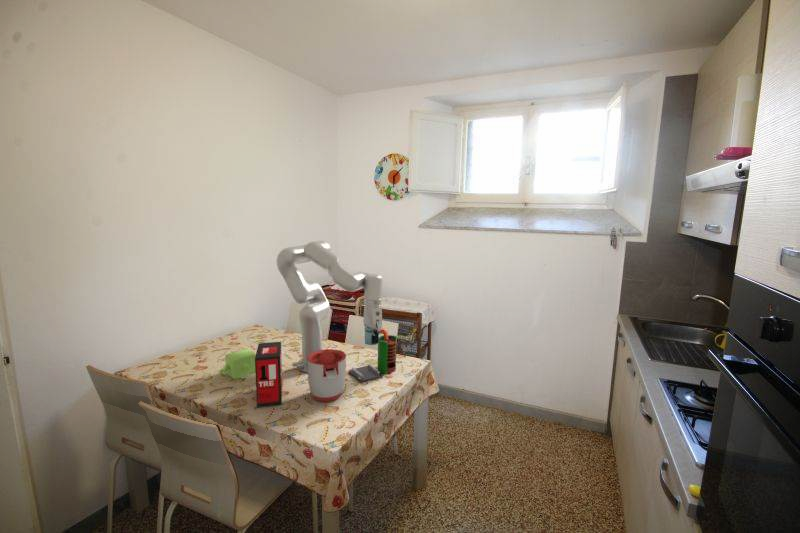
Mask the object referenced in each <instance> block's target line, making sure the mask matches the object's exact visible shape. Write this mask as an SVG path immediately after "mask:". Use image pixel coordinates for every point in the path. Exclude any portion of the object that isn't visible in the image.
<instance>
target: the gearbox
mask: <svg viewBox="0 0 800 533" xmlns="http://www.w3.org/2000/svg"><path fill="white" fill-rule="evenodd" d="M255 356H256V353H255V352H253V351H252V350H251V349H249V348H245V349H242V350H241V349H240V350H237V351H233V352H231V353H227V354H225V355H224V357H225V359H224V360H225V366H224V367H222V368H221V369H220V370H219V372H220V374H223V375H224V374H225V373H226V374H227V375H228V376H229V377H231V378H232V379H233V380H236V379H239V378H241V377H245V376H248V375H251V374H255V373H256V372H255Z"/></svg>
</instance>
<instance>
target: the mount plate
mask: <svg viewBox="0 0 800 533" xmlns="http://www.w3.org/2000/svg"><path fill="white" fill-rule="evenodd" d="M348 373H349V374H350V375H351V376H353V377H354V378H355V379H356V380H357V381H358V382H359V383H360V384H362V383H366V382H369V381H374V380H378V379H381V378H383V376H384V374H383V373H380V371H378V370H377V368H376V367H374V366H373V365H372V364H370V363H367V365H365V366H360V367H351V369H348Z"/></svg>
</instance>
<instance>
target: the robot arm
mask: <svg viewBox="0 0 800 533" xmlns="http://www.w3.org/2000/svg"><path fill="white" fill-rule="evenodd" d="M331 249H332V248H331V246H330V244H329V243H328V242H326V241H324V240H316V241H314V240H313V241H310V242H307V243H306V244H303V245H296V246H288V247H286V248H283V249H282V250H281V251H279V253H278V255H277V257H276V266H277V270H278V272H279V273H280V275H281V276H282V278H283V279H284V281H285V284H286V286H287V288H288V289H289V292H290V294H291V296H292V298H293V300H294V301H295V303H296V304H305V303H309V304H307V305H305V306H303V307H302V308H301V309H300V310H299V321H300V322H299V323H300V328H301V355H302V357H301V358H300V360H298V361H296V362H291V363H292V364H291V365H292V367H293V368H295V367H296V368H298V369H299V370H300V371H301V372H303V373H307V374H308V360H307V357H308V355H309V354H311V353H313V352H315V351H319V350H323V330H322V327H321V321H322V320H325V319H326V318H328V317H329V316H330V315H331V311H332V309H331V306H330V302H329V300H328V298H327V297H326V294H325V292H324V290H323V289H322V287H321V285H320V284H319V283H318V282H317V281H314V280H308V281H307V280H306V278H304V275H303V273H302V271H301V270H300V269H299V268H297V267H296V265H300V264H305V263H310V262H312V263H314V264H316V265H317V266H319V267H320V268H322V269H323V270H324V271H325V272H327V274H328V276H329V277H330V279H331V280H332V281H333V282H334V283H335V284H336V285H337V286H339V287H340V288H342V289H343V290H345V291H346V292H351V293H353V292H356V291H359V290H362V289H364V294H363V295H364V298H363V300H364V302H363V304H364V305H363V306H364V309H363V326H364V328H365V327H366V326H368V327H370V328H371V329H372V334H373V335H372V341H371V343H372V344H376V345H378V344H377V343H378V339H379V337H380V336H379V335H380V331H381V329H383V312H382V311H383V310H382V290H383V277H382V276H381V275H379V274H376V273H374V274H373V273H367V272H363V271H358V272H355V273H354V272H353V273H349V272H348V271H347V270H345V269H344V268H343V267H341V266H340V256H338V255H337V254H335V253H334V252H332V250H331ZM374 327H376V328H374ZM375 329H377V331H375V332H374V330H375Z"/></svg>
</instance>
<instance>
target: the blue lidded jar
mask: <svg viewBox="0 0 800 533" xmlns="http://www.w3.org/2000/svg"><path fill="white" fill-rule="evenodd" d="M374 328H376V327H374ZM375 331H377V329H375V330H374V332H375ZM372 335H373V334H372V329H371V328H370V327H368V326H366V327H365V326H364V344H365V345H367V346H375V345H378V343H377V344H372V343H371V341H372Z"/></svg>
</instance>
